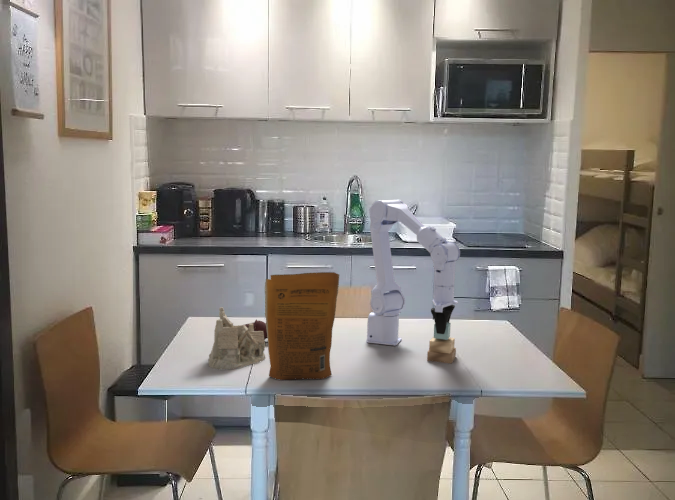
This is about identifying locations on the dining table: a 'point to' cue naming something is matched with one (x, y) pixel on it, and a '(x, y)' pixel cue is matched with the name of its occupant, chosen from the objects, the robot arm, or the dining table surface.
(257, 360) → the ceramic cottage
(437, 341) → the tower top
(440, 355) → the tower base
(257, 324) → the icecream
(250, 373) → the dining table surface
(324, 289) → the pancake mix bag
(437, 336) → the teal cube
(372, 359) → the dining table surface
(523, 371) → the dining table surface
